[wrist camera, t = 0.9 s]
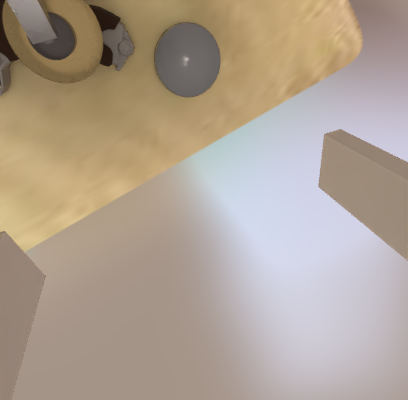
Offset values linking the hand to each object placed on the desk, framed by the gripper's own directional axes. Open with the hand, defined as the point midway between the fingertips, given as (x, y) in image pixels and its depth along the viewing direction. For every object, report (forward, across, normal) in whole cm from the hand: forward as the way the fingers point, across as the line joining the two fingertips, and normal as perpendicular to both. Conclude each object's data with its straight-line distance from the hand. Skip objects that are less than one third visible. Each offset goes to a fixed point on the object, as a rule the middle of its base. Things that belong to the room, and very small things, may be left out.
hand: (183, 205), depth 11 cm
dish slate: (+23, +6, +2) cm, 23 cm away
